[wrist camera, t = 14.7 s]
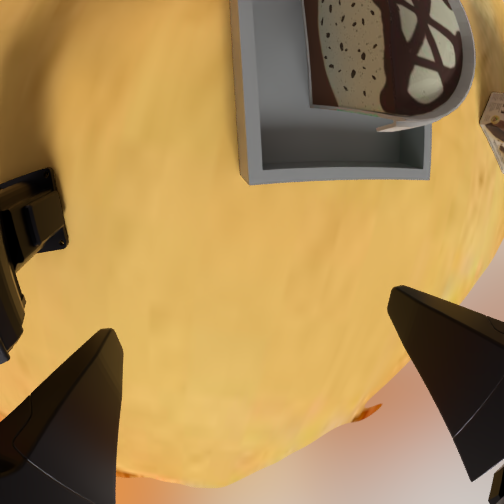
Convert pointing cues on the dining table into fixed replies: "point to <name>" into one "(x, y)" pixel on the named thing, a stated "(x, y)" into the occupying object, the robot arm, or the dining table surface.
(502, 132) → the coffee box
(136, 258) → the dining table surface
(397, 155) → the tray
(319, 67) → the food container
